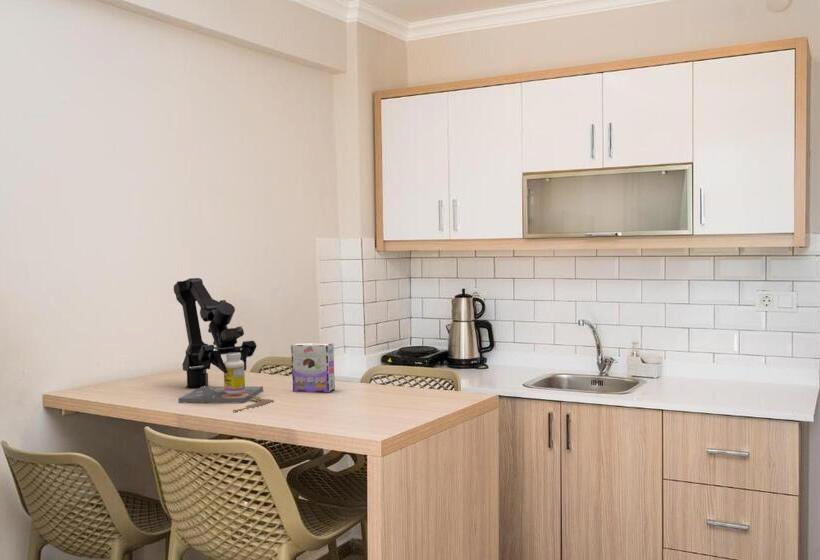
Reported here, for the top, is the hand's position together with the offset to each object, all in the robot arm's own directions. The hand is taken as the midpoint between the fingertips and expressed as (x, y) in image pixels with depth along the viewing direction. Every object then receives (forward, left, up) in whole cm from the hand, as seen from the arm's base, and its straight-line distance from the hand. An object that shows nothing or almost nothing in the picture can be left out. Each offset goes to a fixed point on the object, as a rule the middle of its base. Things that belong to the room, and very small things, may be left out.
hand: (235, 371), depth 265 cm
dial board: (-7, +7, -10) cm, 14 cm away
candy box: (+22, +17, -10) cm, 30 cm away
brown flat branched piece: (+5, -7, -11) cm, 14 cm away
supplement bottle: (-1, +1, -7) cm, 7 cm away
